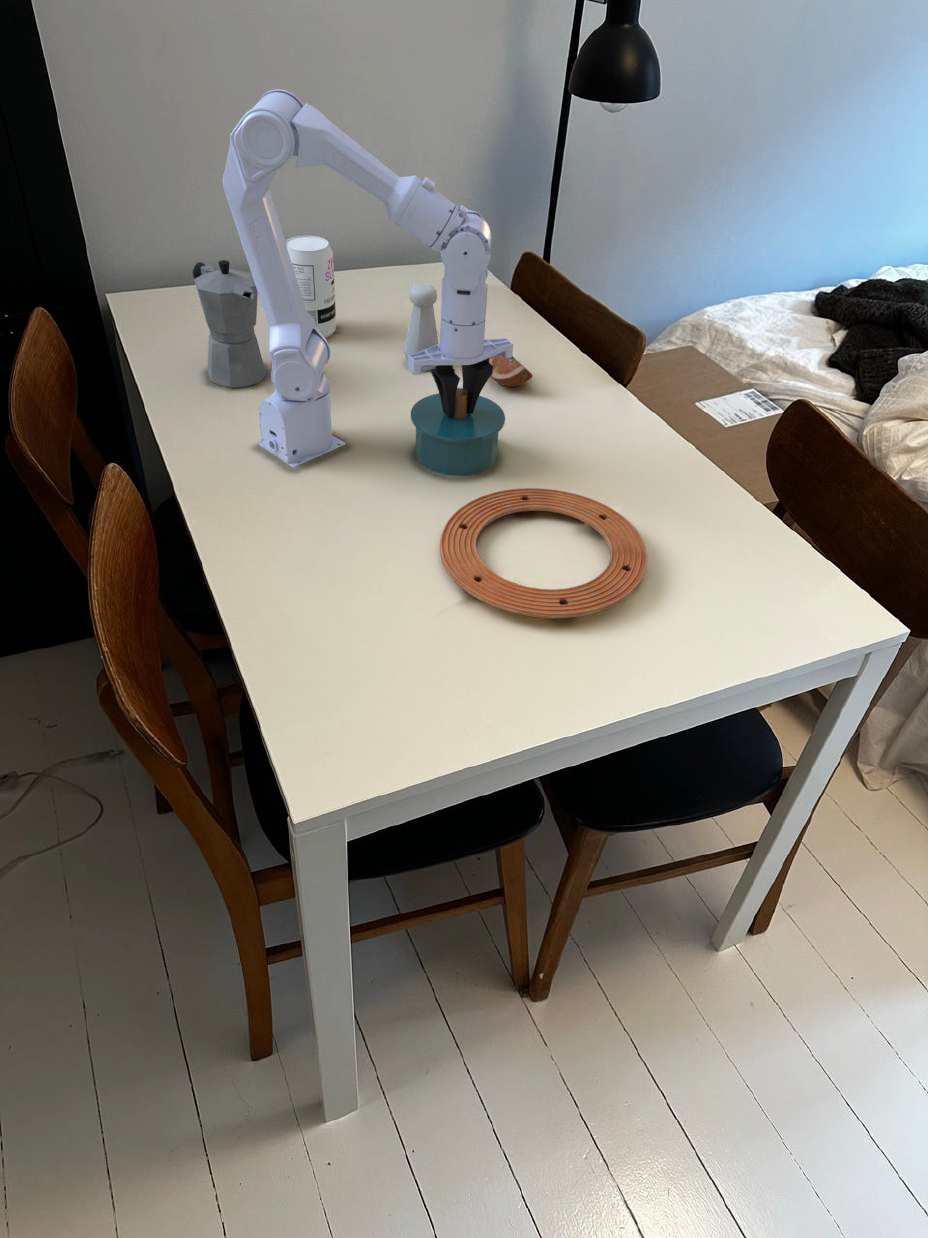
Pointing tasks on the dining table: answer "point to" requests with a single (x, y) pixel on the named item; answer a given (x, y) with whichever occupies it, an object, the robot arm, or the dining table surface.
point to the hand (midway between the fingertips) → (458, 412)
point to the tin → (456, 454)
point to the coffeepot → (230, 324)
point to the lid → (458, 418)
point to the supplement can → (315, 279)
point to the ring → (535, 602)
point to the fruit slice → (509, 371)
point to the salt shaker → (421, 320)
